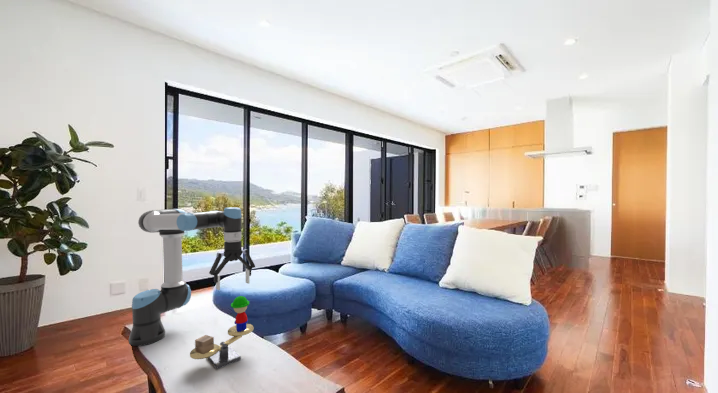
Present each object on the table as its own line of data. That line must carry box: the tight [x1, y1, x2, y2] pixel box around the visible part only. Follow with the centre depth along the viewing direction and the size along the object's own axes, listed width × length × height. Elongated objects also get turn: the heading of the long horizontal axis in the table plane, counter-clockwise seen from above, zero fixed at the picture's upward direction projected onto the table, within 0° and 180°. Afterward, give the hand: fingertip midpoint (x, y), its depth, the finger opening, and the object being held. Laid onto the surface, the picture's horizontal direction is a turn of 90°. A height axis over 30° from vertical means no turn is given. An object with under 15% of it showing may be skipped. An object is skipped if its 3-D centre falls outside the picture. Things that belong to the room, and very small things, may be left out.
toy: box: [230, 295, 250, 331], centre depth 140 cm, size 8×8×15 cm
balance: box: [189, 323, 255, 370], centre depth 135 cm, size 12×26×11 cm, turn 133°
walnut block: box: [194, 334, 215, 354], centre depth 130 cm, size 5×5×5 cm
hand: (233, 286), depth 143 cm, fingers open, 13 cm apart
